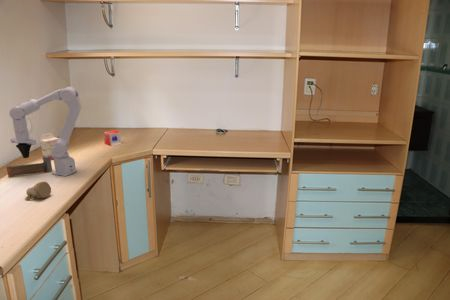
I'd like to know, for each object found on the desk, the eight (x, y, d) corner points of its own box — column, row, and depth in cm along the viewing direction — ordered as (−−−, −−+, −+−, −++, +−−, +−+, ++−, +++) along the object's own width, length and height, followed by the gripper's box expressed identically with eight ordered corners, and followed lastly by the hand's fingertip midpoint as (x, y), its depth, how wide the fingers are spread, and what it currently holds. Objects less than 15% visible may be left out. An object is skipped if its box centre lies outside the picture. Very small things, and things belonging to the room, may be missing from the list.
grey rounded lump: (32, 193, 162) (41, 174, 160) (48, 205, 159) (57, 186, 157) (18, 195, 154) (27, 176, 153) (34, 208, 152) (43, 188, 150)
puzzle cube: (115, 141, 243) (114, 130, 241) (121, 143, 238) (120, 132, 236) (104, 144, 238) (103, 132, 235) (110, 146, 232) (109, 134, 230)
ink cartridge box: (47, 161, 204) (43, 136, 200) (43, 159, 207) (38, 134, 203) (61, 157, 210) (58, 133, 206) (57, 156, 213) (54, 131, 209)
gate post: (52, 170, 189) (50, 156, 187) (48, 172, 186) (46, 158, 184) (48, 170, 190) (46, 156, 188) (44, 171, 187) (42, 157, 185)
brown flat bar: (46, 172, 186) (45, 162, 184) (8, 177, 180) (6, 167, 178) (46, 171, 187) (45, 161, 186) (8, 176, 181) (6, 166, 179)
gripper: (3, 131, 175) (8, 158, 179) (25, 134, 170) (30, 161, 174) (15, 128, 181) (20, 154, 185) (37, 130, 176) (42, 157, 180)
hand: (26, 157), depth 180 cm, fingers closed
